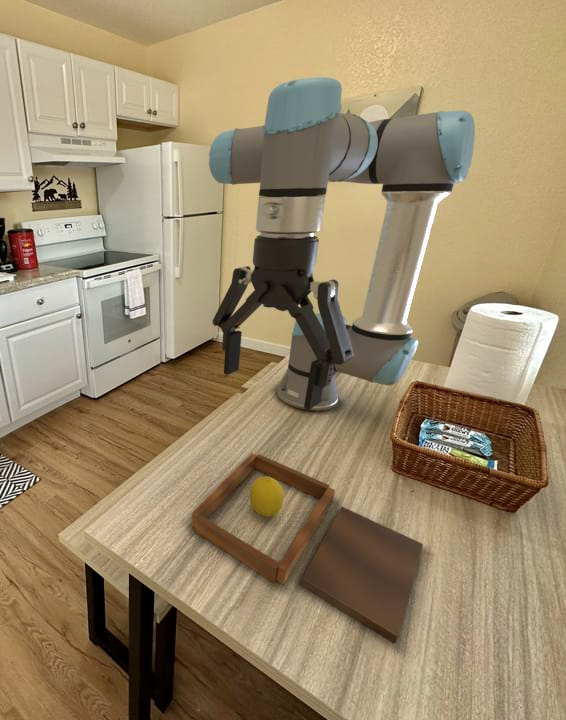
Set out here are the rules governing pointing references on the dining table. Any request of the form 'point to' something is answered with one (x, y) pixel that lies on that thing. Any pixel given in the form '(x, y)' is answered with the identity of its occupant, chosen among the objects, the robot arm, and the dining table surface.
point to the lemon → (266, 496)
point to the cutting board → (365, 571)
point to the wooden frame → (244, 550)
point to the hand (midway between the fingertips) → (267, 387)
